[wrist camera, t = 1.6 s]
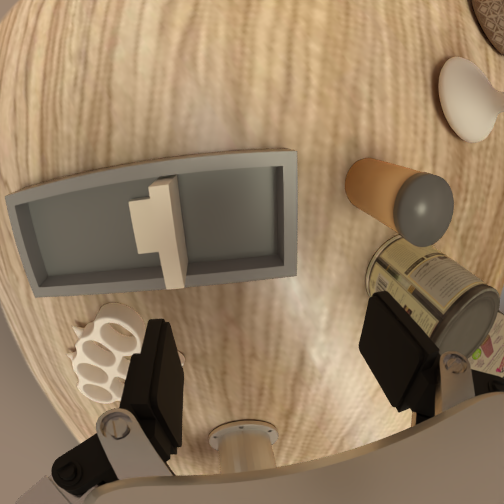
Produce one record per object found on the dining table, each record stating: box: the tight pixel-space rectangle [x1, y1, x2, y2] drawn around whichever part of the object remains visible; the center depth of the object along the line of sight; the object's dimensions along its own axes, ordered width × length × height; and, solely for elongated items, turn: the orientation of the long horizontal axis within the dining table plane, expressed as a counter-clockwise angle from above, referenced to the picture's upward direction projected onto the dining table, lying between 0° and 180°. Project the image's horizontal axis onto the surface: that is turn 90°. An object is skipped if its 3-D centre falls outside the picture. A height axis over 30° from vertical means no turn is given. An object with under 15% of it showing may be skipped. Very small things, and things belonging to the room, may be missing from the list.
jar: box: [345, 158, 454, 247], centre depth 23 cm, size 6×6×10 cm
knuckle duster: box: [66, 303, 185, 404], centre depth 32 cm, size 3×18×15 cm
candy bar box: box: [468, 310, 504, 379], centre depth 32 cm, size 11×5×16 cm, turn 154°
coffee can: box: [366, 235, 500, 359], centre depth 26 cm, size 10×10×14 cm
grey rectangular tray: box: [5, 148, 298, 297], centre depth 24 cm, size 11×28×4 cm, turn 93°
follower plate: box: [129, 174, 188, 290], centre depth 23 cm, size 8×4×5 cm, turn 3°
